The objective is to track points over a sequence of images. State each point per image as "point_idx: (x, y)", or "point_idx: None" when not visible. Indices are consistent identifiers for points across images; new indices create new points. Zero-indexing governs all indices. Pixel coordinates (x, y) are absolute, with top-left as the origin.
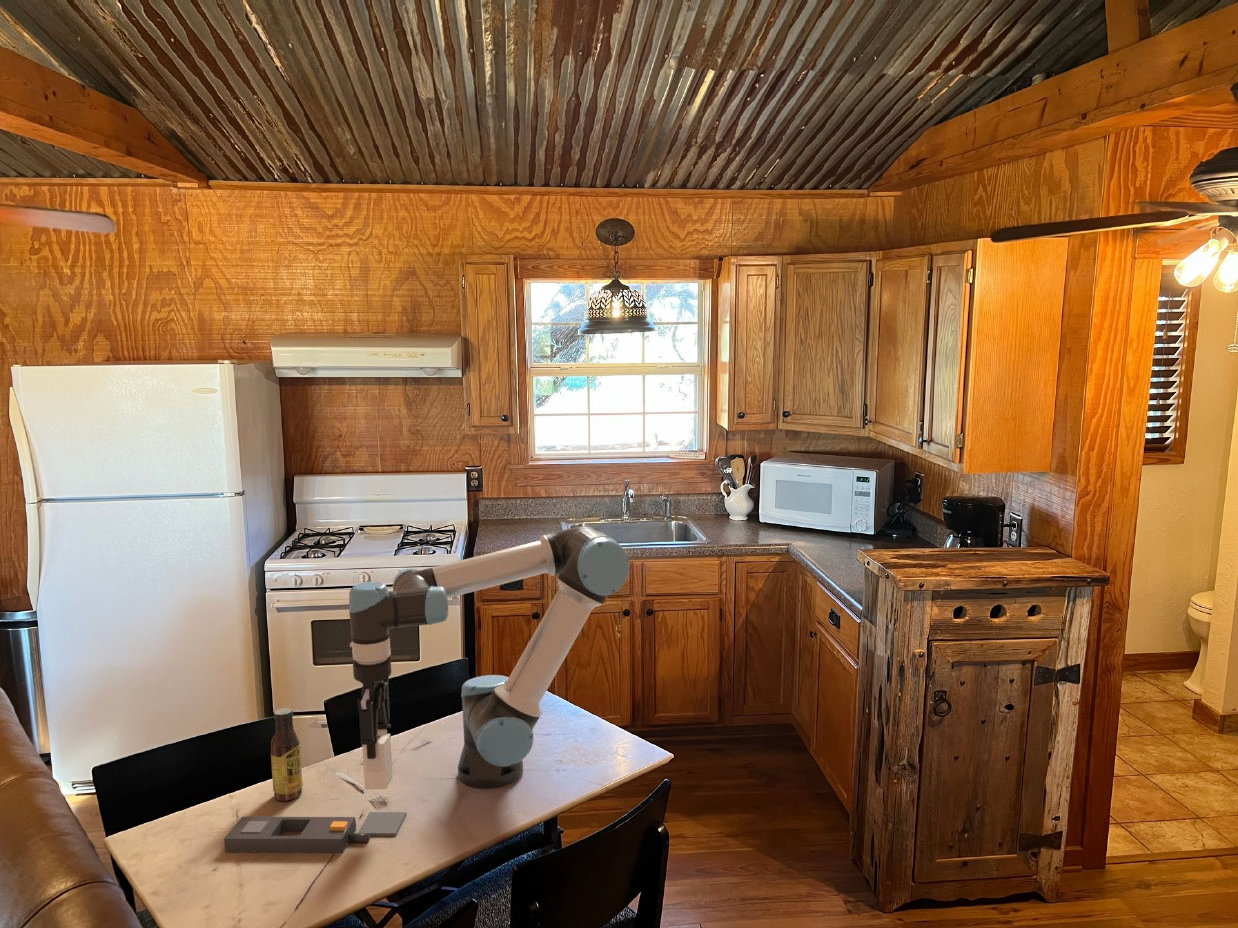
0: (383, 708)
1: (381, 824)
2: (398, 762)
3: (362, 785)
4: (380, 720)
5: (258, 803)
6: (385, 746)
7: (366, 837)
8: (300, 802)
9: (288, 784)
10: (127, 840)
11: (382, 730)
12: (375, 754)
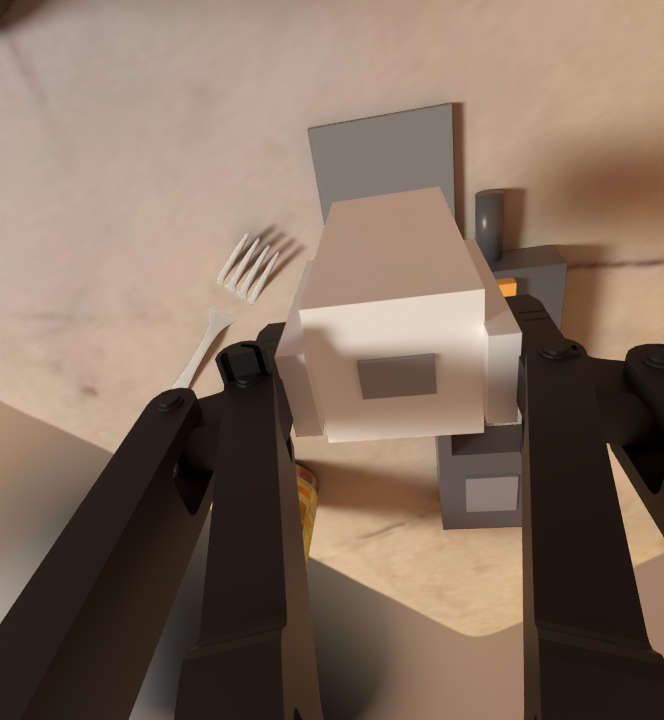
0: (275, 530)
1: (398, 188)
2: (33, 301)
3: (201, 344)
4: (286, 447)
5: (333, 515)
6: (440, 274)
7: (503, 197)
8: (311, 448)
9: (307, 504)
10: (483, 626)
11: (302, 378)
12: (508, 305)
